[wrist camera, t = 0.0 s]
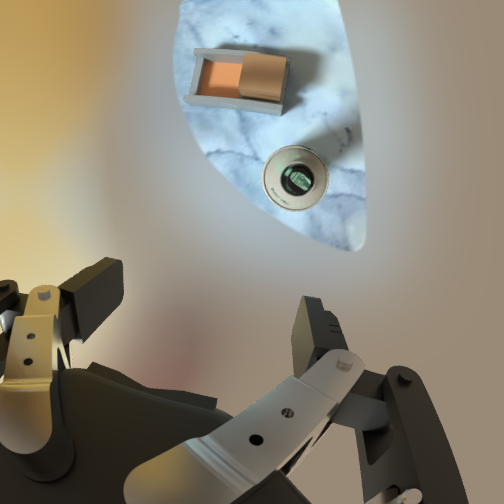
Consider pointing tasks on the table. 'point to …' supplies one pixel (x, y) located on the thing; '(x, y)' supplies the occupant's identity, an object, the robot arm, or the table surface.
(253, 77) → the walnut block
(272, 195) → the spray can
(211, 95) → the channel
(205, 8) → the table surface
